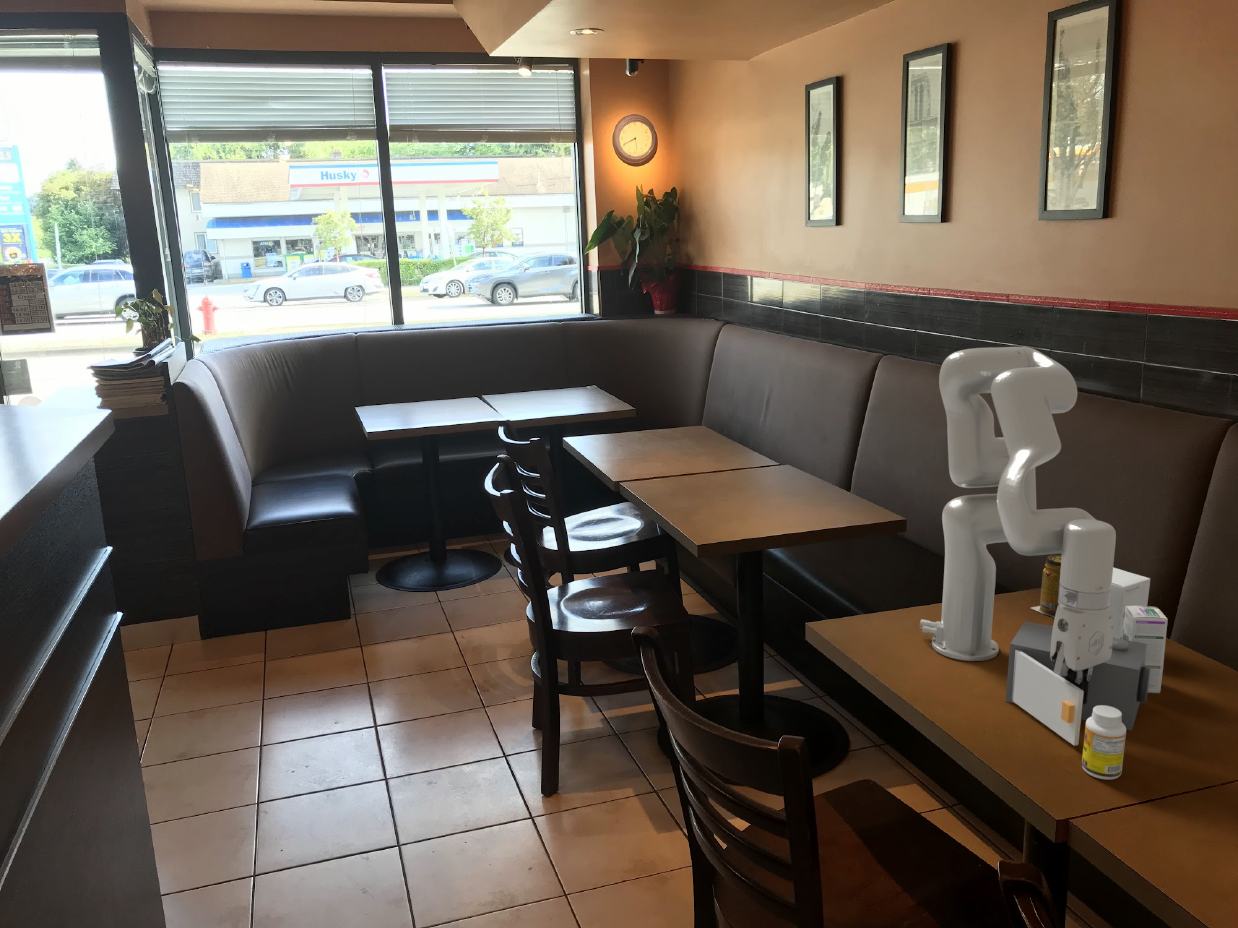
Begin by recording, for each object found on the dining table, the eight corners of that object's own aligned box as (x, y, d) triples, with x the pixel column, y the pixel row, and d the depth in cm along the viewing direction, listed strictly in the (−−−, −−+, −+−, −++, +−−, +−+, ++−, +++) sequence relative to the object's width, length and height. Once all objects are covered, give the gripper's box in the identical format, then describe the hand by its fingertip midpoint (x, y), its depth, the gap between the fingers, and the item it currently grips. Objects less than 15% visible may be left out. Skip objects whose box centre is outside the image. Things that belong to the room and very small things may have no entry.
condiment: (1053, 603, 217) (1057, 552, 214) (1085, 615, 209) (1091, 563, 207) (1029, 608, 214) (1034, 557, 211) (1061, 622, 206) (1066, 568, 204)
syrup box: (1161, 693, 174) (1170, 618, 170) (1125, 691, 175) (1134, 616, 172) (1151, 679, 179) (1159, 606, 176) (1116, 677, 180) (1124, 604, 177)
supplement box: (1116, 659, 188) (1124, 586, 184) (1074, 643, 195) (1081, 573, 192) (1144, 649, 192) (1152, 577, 189) (1102, 634, 200) (1109, 565, 196)
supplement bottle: (1086, 758, 153) (1093, 698, 151) (1125, 769, 150) (1132, 709, 147) (1076, 773, 149) (1082, 712, 147) (1115, 785, 145) (1122, 723, 143)
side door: (1005, 700, 171) (1009, 650, 169) (1014, 698, 171) (1018, 649, 169) (1068, 746, 155) (1073, 692, 153) (1078, 744, 156) (1084, 690, 153)
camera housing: (1005, 701, 172) (1010, 638, 169) (1020, 675, 182) (1025, 615, 179) (1139, 732, 160) (1147, 665, 158) (1147, 703, 170) (1155, 640, 167)
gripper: (1075, 612, 149) (1065, 722, 153) (1134, 594, 156) (1124, 699, 160) (1033, 598, 156) (1025, 703, 159) (1092, 581, 163) (1083, 682, 167)
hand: (1074, 701), depth 160 cm, fingers closed
